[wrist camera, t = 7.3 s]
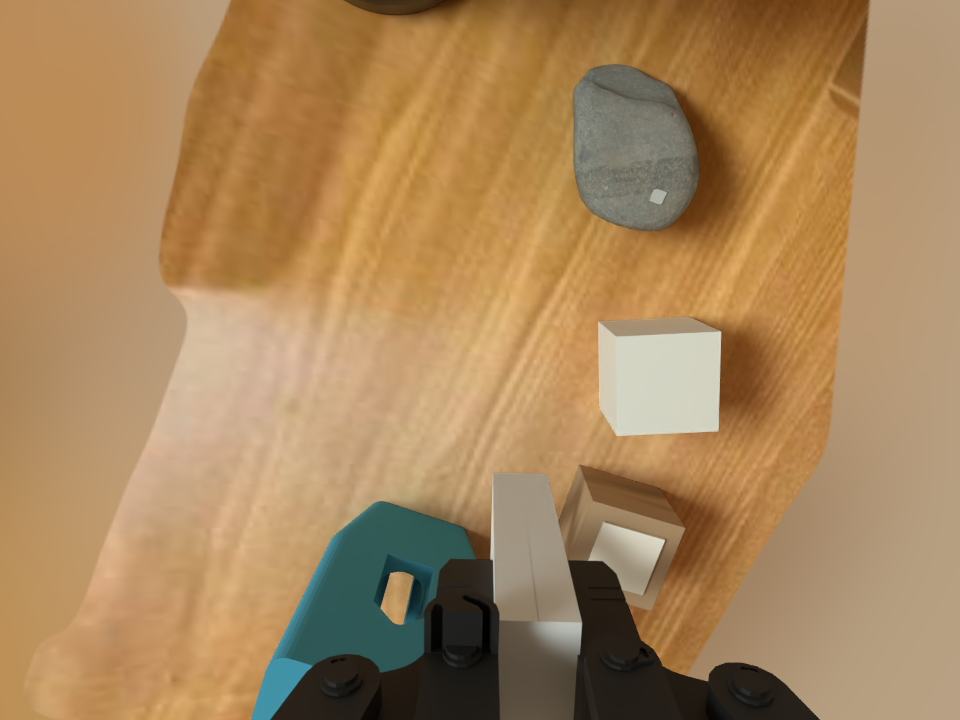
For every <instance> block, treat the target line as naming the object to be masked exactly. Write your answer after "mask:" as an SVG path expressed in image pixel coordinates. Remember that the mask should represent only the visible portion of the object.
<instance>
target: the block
mask: <svg viewBox="0 0 960 720" xmlns="http://www.w3.org/2000/svg"><path fill="white" fill-rule="evenodd" d="M449 559H476V557H475V554H474V551H473V549H472V546H471V544H470V541H469V539H468V536H467V534H466V531H465V530H464V529H463V528H462V527H460V526H458V525H455V524H452V523H449V522H446V521H443V520H439V519H436V518H433V517H430V516H427V515H424V514H421V513H418V512H415V511H411V510H408V509H405V508H402V507H399V506H396V505H393V504H390V503H386V502H382V501H381V502H376V503H374V504H373V505H371V506H370V507H369V508H368V509H366V510H365V511H364V512H363V513H361V514H360V515H359V516H358V517H357V518H355V519H354V520H353V521H352V522H350V523H349V524H348V525H347V526H345V527H344V528H343V529H342V530H341V531H339V532H338V533H337V534H336V535H334V536H333V537H332V539H331V541H330V543H329V545H328V547H327V549H326V551H325V553H324V555H323V557H322V559H321V561H320V563H319V565H318V567H317V569H316V571H315V573H314V575H313V577H312V579H311V581H310V583H309V585H308V587H307V589H306V591H305V593H304V595H303V597H302V599H301V601H300V603H299V605H298V607H297V609H296V611H295V613H294V615H293V617H292V619H291V621H290V623H289V625H288V627H287V629H286V631H285V633H284V635H283V637H282V639H281V641H280V643H279V645H278V647H277V649H276V651H275V653H274V655H273V657H272V659H271V661H270V663H269V665H268V667H267V669H266V672H265V675H264V679H263V682H262V685H261V688H260V692H259V695H258V698H257V701H256V704H255V708H254V711H253V714H252V719H251V720H270V719H271V718H272V716H273V715H274V714H275V713H276V711H277V710H278V709H279V707H280V706H281V705H282V703H283V702H284V701H285V699H286V698H287V697H288V695H289V694H290V693H291V691H292V690H293V689H294V687H295V686H296V685H297V683H298V682H299V681H300V679H301V678H302V677H303V676H304V674H305V673H306V672H307V671H308V670H309V669H310V668H311V667H312V666H313V665H315V664H316V663H318V662H320V661H322V660H324V659H326V658H328V657H331V656H336V655H341V654H355V655H361V656H363V657H366V658H369V659H371V660H372V661H373V662H374V663H375V664H376V665H377V666H378V667H379V670H380V673H381V672H386V671H390V670H395V669H398V668H401V667H405V666H407V665H409V664H411V663H412V662H414V661H416V660H417V659H418V658H419V657H421V656H422V655H423V653H424V611H425V609H426V607H427V605H428V603H429V602H430V601H432V600H433V599H434V598H436V592H437V586H438V578H439V571H440V570H441V568H442V567H443V566H444V565H445V564H446V563H447V562H448V561H449ZM393 572H406V573H409V574H411V575H413V576H414V577H413V581H412V586H411V591H410V596H409V600H408V605H407V610H406V614H405V619H404V624H403V625H397V624H394V623H393V622H392V621H391V620H390V619H389V618H388V617H387V616H386V615H385V613H384V612H383V611H382V610H381V609H380V607H381V604H382V600H383V597H384V593H385V590H386V586H387V583H388V579H389V576H390V573H393Z"/></svg>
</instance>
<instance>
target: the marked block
mask: <svg viewBox="0 0 960 720" xmlns="http://www.w3.org/2000/svg"><path fill="white" fill-rule="evenodd" d="M558 522H559V527H560V531H561V535H562V539H563V544H564V548H565V552H566V556H567V560H584V561H603V562H604V563H606V564H607V565H608V566H609V567H610V568H611V569H612V570H613V571H614V572H615V573H616V574H617V577H618V579H619V582H620V585H621V587H622V591H623V593H624V596H625V598H626V602H627V604H628V605H631V606H634V607H638V608H641V609H645V610H648V611H652V609H653V606H654V604H655V601H656V599H657V597H658V594H659V592H660V589H661V587H662V584H663V582H664V579H665V577H666V575H667V572H668V570H669V567H670V565H671V562H672V560H673V558H674V555H675V553H676V550H677V548H678V545H679V543H680V540H681V538H682V536H683V533H684V531H685V527H684V525H683V523H682V522H681V520H680V519H679V517H678V516H677V514H676V513H675V511H674V510H673V508H672V507H671V505H670V504H669V502H668V501H667V499H666V498H665V496H664V495H663V493H662V492H661V490H660V489H659V488H656V487H653V486H650V485H646V484H643V483H639V482H636V481H633V480H629V479H626V478H623V477H619V476H616V475H612V474H609V473H606V472H602V471H599V470H596V469H592V468H589V467H585V466H582V465H579V466H578V469H577V471H576V474H575V477H574V480H573V482H572V485H571V488H570V491H569V493H568V496H567V499H566V502H565V505H564V507H563V510H562V513H561V516H560V518H559V521H558Z"/></svg>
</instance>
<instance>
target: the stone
mask: <svg viewBox="0 0 960 720" xmlns="http://www.w3.org/2000/svg"><path fill="white" fill-rule="evenodd" d="M573 105H574V144H573V147H574V171H575V177H576V182H577V187H578V191H579V194H580V197H581V199H582V201H583V203H584V204H585V206H586V207H587V208H588V209H589V210H590V211H591V212H592V213H594V214H595V215H596V216H598V217H600V218H602V219H604V220H606V221H608V222H610V223H613V224H615V225H618V226H622V227H626V228H630V229H635V230H642V231H660V230H662V229H665V228H667V227H668V226H670V225H671V224H673V223H674V222H675V221H676V220H677V219H678V218H679V217H680V216H681V215H682V214H683V213H684V211H685V210H686V209H687V207H688V206H689V204H690V202H691V200H692V198H693V196H694V195H695V193H696V190H697V186H698V182H699V162H698V153H697V148H696V144H695V140H694V136H693V133H692V130H691V127H690V125H689V123H688V120H687V118H686V116H685V114H684V112H683V110H682V108H681V106H680V104H679V102H678V100H677V98H676V96H675V94H674V92H673V90H672V89H671V88H670V87H669V86H668V85H667V84H666V83H664V82H662V81H659V80H655V79H653V78H651V77H650V76H648V75H647V74H645V73H643V72H642V71H640V70H638V69H635V68H632V67H631V66H624V65H617V64H614V65H604V66H599V67H595V68H593V69H591V70H589V71H588V72H587V74H586V75H585V76H584V77H583V78H582V79H581V81H580V82H579V84H578V85H577V86H576V87H575V89H574V92H573Z"/></svg>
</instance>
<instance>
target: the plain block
mask: <svg viewBox="0 0 960 720" xmlns="http://www.w3.org/2000/svg"><path fill="white" fill-rule="evenodd" d="M598 339H599V408H600V409H601V411H602V412H603V414H604V416H605V417H606V419H607V421H608V422H609V424H610V426H611V427H612V429H613V431H614V432H615V434H616V435H617V436H627V435H648V434H670V433H691V432H713V431H718V429H719V393H720V358H721V331H719V330H717V329H715V328H713V327H710V326H708V325H706V324H704V323H702V322H699V321H697V320H695V319H693V318H691V317H672V318H652V319H632V320H613V321H598Z"/></svg>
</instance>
